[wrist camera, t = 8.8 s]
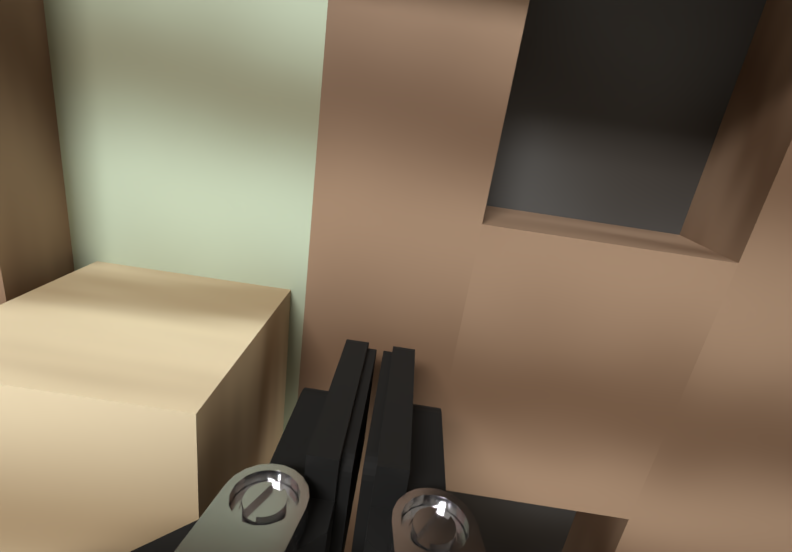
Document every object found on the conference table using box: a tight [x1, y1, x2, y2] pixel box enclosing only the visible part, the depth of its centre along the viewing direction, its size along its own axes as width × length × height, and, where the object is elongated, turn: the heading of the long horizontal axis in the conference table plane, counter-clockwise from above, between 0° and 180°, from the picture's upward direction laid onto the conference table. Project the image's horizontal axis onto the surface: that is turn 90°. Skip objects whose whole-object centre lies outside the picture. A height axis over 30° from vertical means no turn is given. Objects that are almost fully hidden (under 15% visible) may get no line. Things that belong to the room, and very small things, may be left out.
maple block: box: [0, 261, 291, 552], centre depth 10 cm, size 5×5×5 cm
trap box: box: [0, 0, 792, 552], centre depth 12 cm, size 22×28×5 cm
